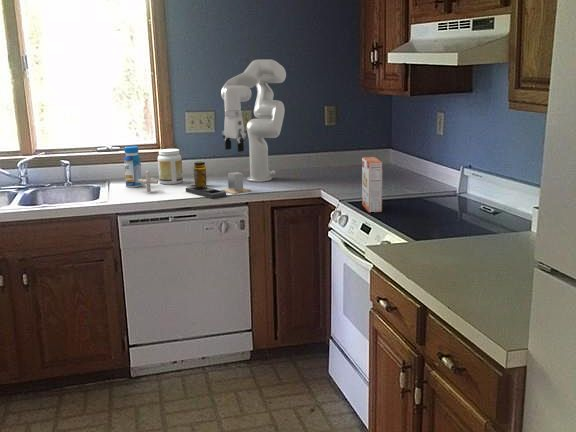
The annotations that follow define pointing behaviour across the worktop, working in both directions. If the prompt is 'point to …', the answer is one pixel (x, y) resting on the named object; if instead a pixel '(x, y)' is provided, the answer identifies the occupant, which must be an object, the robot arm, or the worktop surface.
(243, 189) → the oak coaster
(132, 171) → the beverage bottle
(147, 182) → the pipe connector
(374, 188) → the cracker box
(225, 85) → the robot arm
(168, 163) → the supplement tub
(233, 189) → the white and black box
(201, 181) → the condiment
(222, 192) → the rack rail
